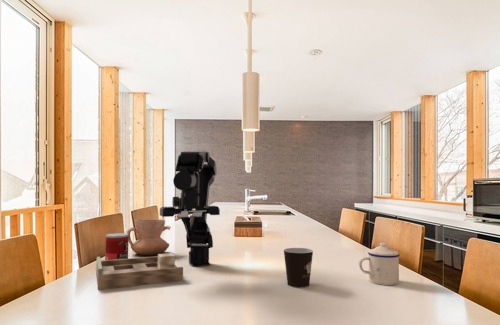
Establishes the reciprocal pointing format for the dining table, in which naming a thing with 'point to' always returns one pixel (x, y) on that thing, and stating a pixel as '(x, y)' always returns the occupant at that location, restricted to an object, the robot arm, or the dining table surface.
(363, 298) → the dining table surface
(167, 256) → the maple block
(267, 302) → the dining table surface
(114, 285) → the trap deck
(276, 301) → the dining table surface
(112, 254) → the canned food
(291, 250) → the coffee mug
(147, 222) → the ceramic jug
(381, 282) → the teacup with lid
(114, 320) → the dining table surface
